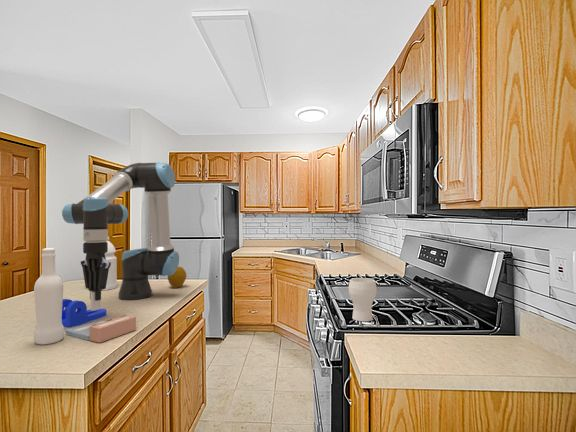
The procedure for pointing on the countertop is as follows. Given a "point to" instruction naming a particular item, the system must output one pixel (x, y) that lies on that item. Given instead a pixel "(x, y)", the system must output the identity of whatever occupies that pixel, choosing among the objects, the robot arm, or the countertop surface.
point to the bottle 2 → (111, 266)
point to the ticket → (82, 330)
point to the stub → (112, 328)
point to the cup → (362, 297)
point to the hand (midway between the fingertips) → (95, 309)
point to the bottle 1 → (48, 302)
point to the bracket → (78, 313)
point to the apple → (177, 278)
